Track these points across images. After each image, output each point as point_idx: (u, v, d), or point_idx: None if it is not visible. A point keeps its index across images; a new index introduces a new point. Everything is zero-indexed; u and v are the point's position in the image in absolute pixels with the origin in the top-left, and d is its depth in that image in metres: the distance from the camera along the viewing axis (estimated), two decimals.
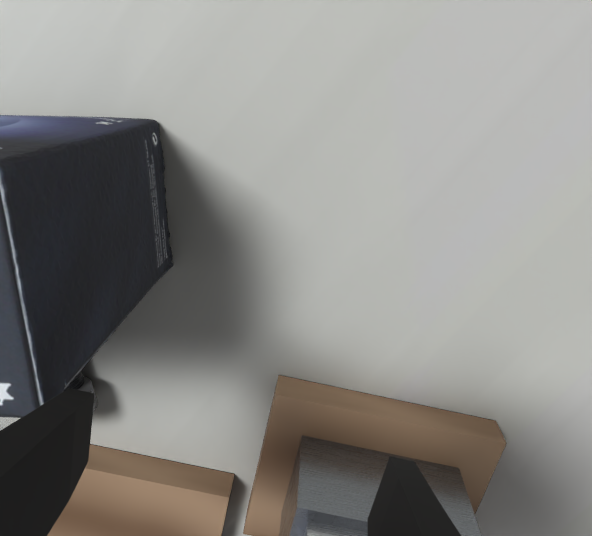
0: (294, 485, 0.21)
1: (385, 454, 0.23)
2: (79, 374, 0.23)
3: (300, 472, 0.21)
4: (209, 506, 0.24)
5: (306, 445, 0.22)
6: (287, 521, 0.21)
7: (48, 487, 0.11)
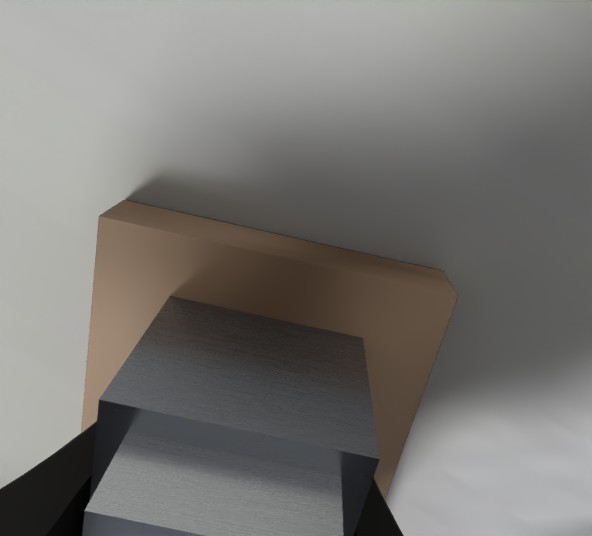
0: None
1: None
2: None
3: None
4: None
5: None
6: None
7: None
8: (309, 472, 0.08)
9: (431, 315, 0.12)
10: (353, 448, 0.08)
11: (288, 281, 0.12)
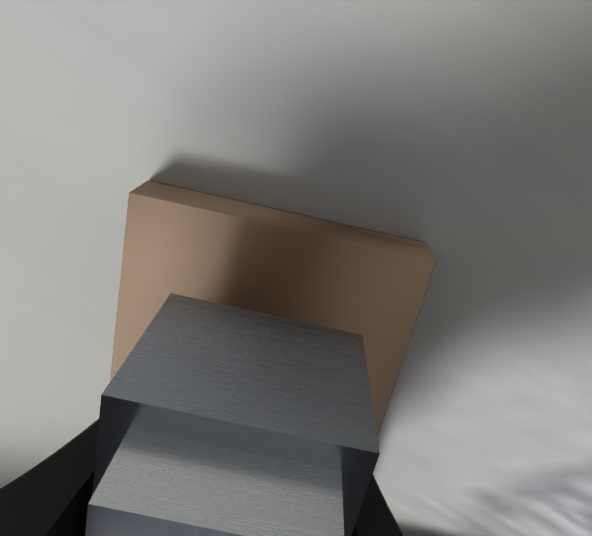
0: None
1: None
2: None
3: None
4: None
5: None
6: None
7: None
8: (310, 466, 0.09)
9: (413, 278, 0.14)
10: (353, 443, 0.09)
11: (291, 248, 0.14)
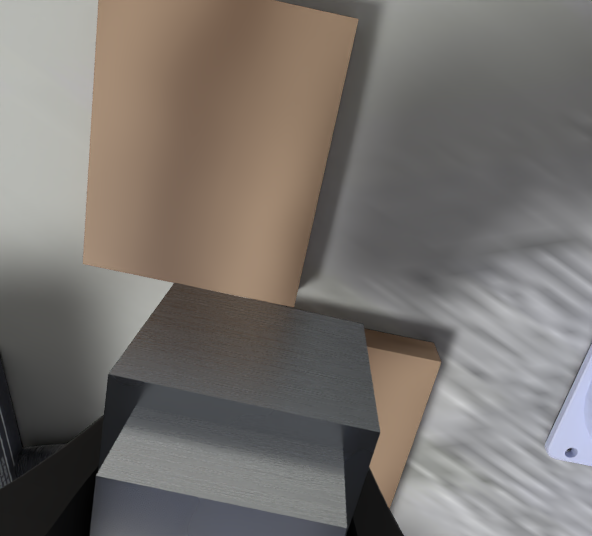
0: None
1: None
2: None
3: None
4: None
5: None
6: None
7: None
8: (312, 445, 0.09)
9: (340, 36, 0.16)
10: (355, 422, 0.09)
11: (237, 11, 0.16)
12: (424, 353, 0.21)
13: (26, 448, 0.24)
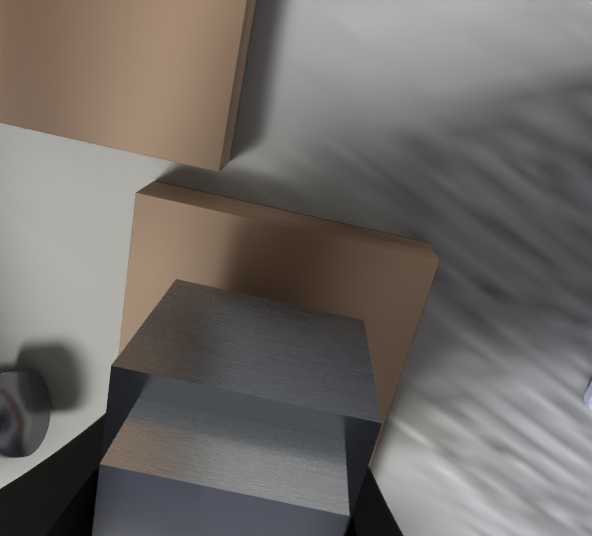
0: None
1: None
2: None
3: None
4: (161, 229, 0.14)
5: None
6: None
7: None
8: (314, 436, 0.09)
9: None
10: (356, 413, 0.09)
11: None
12: (414, 250, 0.14)
13: None
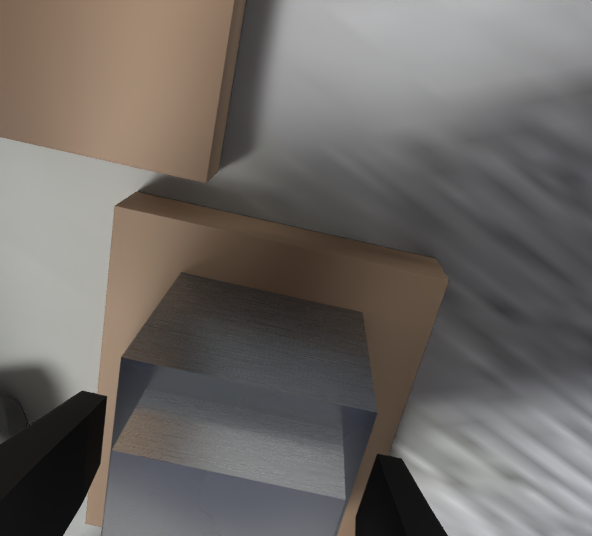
0: None
1: None
2: None
3: None
4: (143, 245, 0.12)
5: None
6: None
7: (63, 490, 0.11)
8: (313, 425, 0.09)
9: None
10: (353, 403, 0.09)
11: None
12: (421, 268, 0.13)
13: None
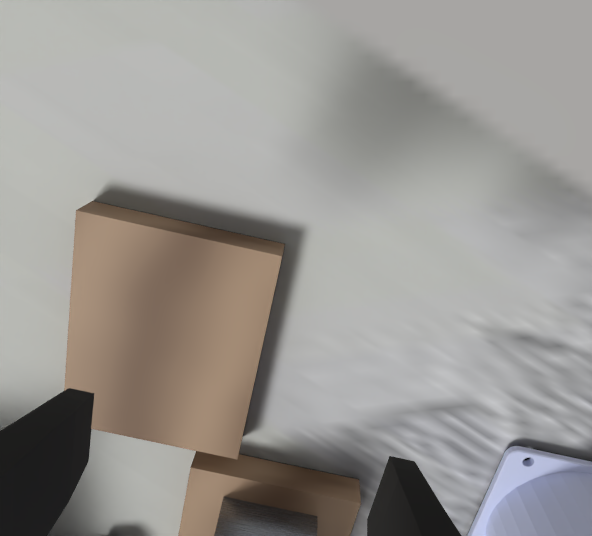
0: None
1: None
2: None
3: None
4: (204, 484, 0.24)
5: None
6: None
7: (48, 487, 0.11)
8: None
9: (268, 268, 0.20)
10: None
11: (185, 248, 0.20)
12: (348, 494, 0.25)
13: None
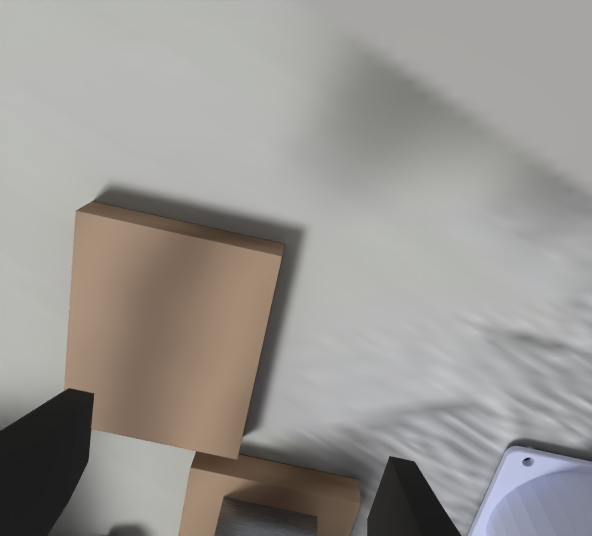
0: None
1: None
2: None
3: None
4: (204, 484, 0.24)
5: None
6: None
7: (48, 487, 0.11)
8: None
9: (268, 268, 0.20)
10: None
11: (185, 248, 0.20)
12: (348, 494, 0.25)
13: None
